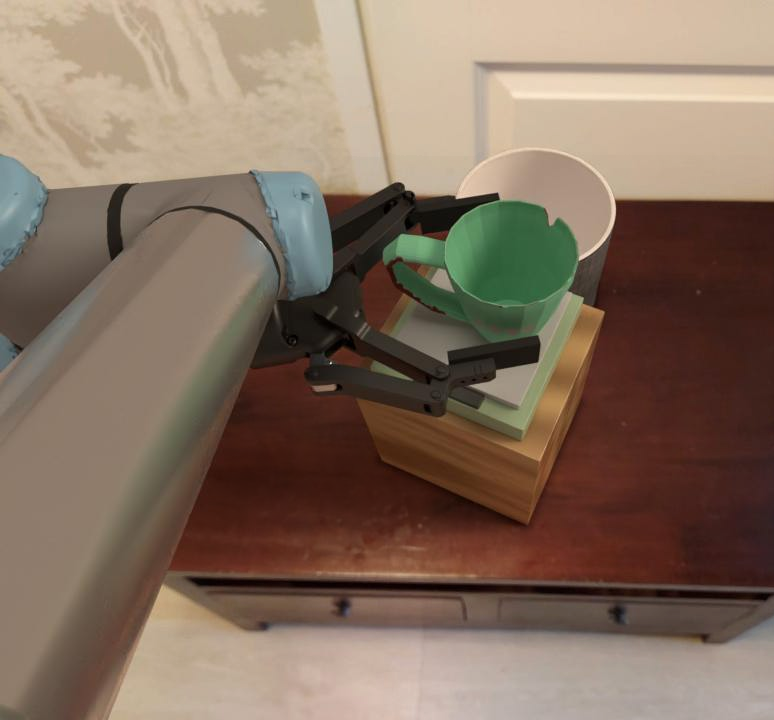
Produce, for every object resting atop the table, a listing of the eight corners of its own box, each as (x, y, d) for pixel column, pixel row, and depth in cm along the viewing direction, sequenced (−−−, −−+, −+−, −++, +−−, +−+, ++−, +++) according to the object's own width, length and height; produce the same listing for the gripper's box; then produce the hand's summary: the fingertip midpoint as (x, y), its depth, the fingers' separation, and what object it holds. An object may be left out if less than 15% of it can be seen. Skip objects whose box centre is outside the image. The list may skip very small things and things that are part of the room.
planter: (587, 232, 90) (605, 144, 76) (604, 343, 82) (627, 266, 68) (458, 236, 90) (453, 149, 76) (461, 348, 82) (455, 273, 68)
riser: (527, 525, 71) (539, 461, 53) (381, 460, 75) (348, 381, 57) (579, 403, 78) (605, 311, 60) (443, 349, 82) (430, 248, 64)
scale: (521, 441, 54) (523, 426, 51) (374, 380, 57) (368, 362, 54) (580, 312, 60) (585, 292, 57) (444, 262, 63) (442, 241, 60)
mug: (569, 283, 58) (583, 205, 49) (560, 381, 53) (574, 314, 44) (407, 266, 59) (392, 187, 50) (384, 360, 54) (363, 291, 46)
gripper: (249, 226, 58) (485, 189, 59) (258, 497, 46) (553, 441, 47) (218, 162, 51) (484, 123, 53) (219, 460, 39) (563, 396, 41)
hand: (518, 273), depth 50 cm, fingers open, 13 cm apart
